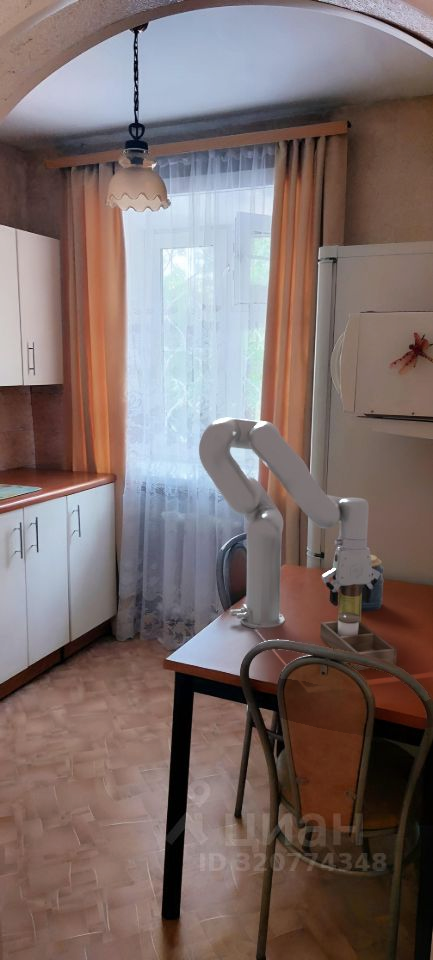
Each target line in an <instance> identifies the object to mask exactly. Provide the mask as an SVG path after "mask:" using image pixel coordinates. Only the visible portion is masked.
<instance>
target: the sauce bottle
mask: <svg viewBox="0 0 433 960" xmlns="http://www.w3.org/2000/svg"><path fill="white" fill-rule="evenodd" d="M361 587H362V585H359V584H353V585H349V586H340V587H339V588H338V605H337V608H338V609H337V610H338V612H337V615H338V614H339V613H342V612H351V613H355V614H357V615H359V621H360V622H361V623H362V612H361V599H362V592H361Z"/></svg>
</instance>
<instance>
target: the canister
mask: <svg viewBox="0 0 433 960" xmlns="http://www.w3.org/2000/svg"><path fill="white" fill-rule="evenodd" d="M370 555H371V566H372V568H373V569H375V570H377V571H378V572H380V576H379V578H378V579H377V582H376V583H375V585H374V586H373V588H372V589H371V598H370V602H369V603H366V602H365V601H363V600H362V599H361V613H362V612H371V611H372V612H373V611H378V610H380V609H381V608H382V605H383V600H384V599H383V589H384V588H383V587H384V586H383V585H384V582H385V581H384V578H383V573H384V572H385V569H384V567H383V566H382V560H381V559H379V558H378V557H377V555H375V554H371V553H370ZM372 577H373V573H372ZM363 586H364V584H363V585H362V587H363ZM362 587H361V592H362Z"/></svg>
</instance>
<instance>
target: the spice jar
mask: <svg viewBox="0 0 433 960" xmlns="http://www.w3.org/2000/svg"><path fill="white" fill-rule="evenodd" d="M337 621H338V635H339V636H340V637H341V636H351V635H358V626H359V615H357V614H355V613H351V612H342V613H339V614H338V613H337Z"/></svg>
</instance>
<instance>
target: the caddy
mask: <svg viewBox="0 0 433 960" xmlns="http://www.w3.org/2000/svg"><path fill="white" fill-rule="evenodd" d="M319 635H320V639H321V640H323V641H324V642H325V643H326V644H327V645H328V646H329V647H330V648H335V649H340V650H344V651H349V652H353V653H358V654H363V655H367V656H371V657H375V658H379V659H382V660H386V661H388V662H391V663H393V664H395V665H396V666H397V654H398V649H397V648H396V647H394V646H393V645H391V644H390V643H389V642H388V641H386V640H385V639H384V638H382V637H381V636H379V635H378V634H377V633H376V632H374V630H372V629H370V628H369V627H368V626H367V625H365V624H364V623H363V622H362V621H361V622H360V621H359V626H358V635H351V636H341V637H340V636H339V635H338V620H334V621H326V622H320V634H319ZM350 666H351V667H352V666H353V667H354V668H355V669H356V670H355V669H354V668H353V667H352V668H353V669H354V670H355V671H360V670H361V671H363V670H371V669H370V668H366V667H362V666H359V665H355V664H352V665H350Z"/></svg>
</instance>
